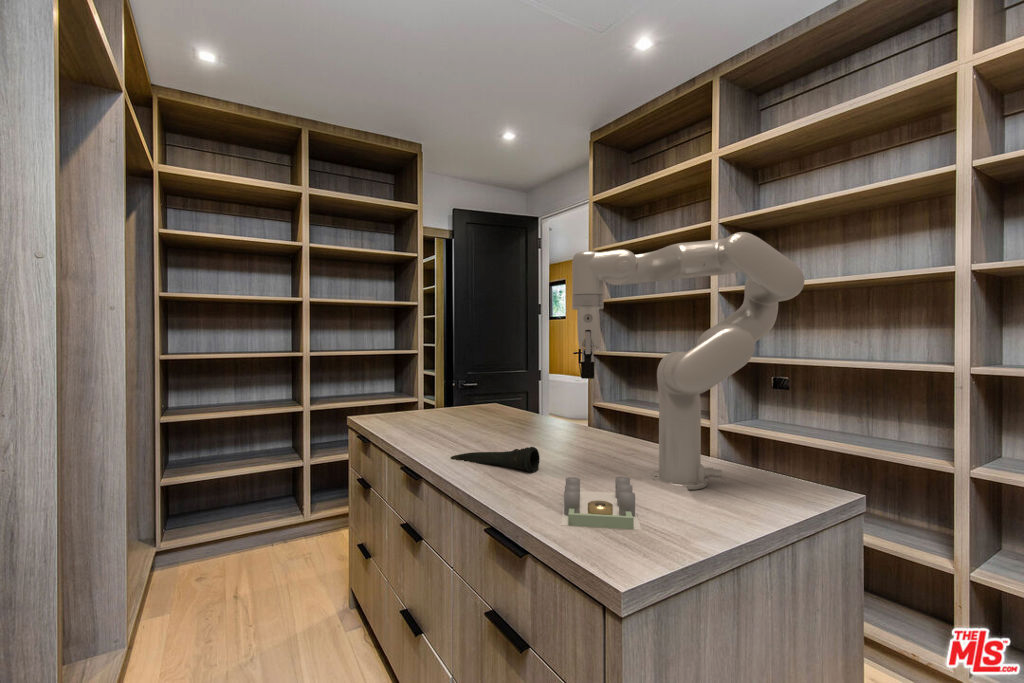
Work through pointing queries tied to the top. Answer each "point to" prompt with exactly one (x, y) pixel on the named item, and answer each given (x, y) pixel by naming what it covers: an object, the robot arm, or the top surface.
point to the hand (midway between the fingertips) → (587, 378)
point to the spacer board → (621, 500)
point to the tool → (506, 458)
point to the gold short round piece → (600, 508)
